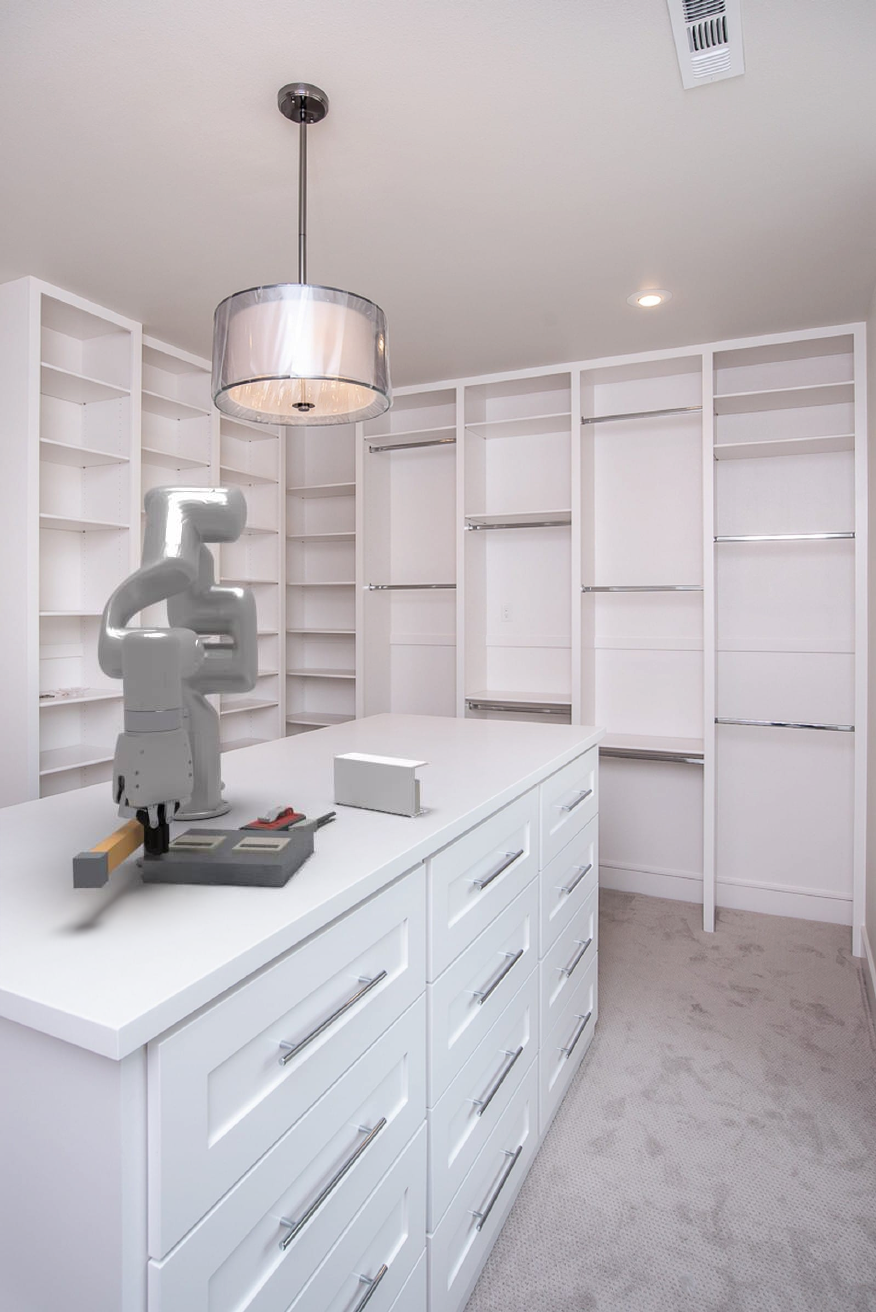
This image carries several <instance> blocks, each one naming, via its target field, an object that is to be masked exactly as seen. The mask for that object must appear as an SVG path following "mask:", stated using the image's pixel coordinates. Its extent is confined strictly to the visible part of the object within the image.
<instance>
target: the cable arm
mask: <svg viewBox="0 0 876 1312" xmlns="http://www.w3.org/2000/svg"><path fill="white" fill-rule="evenodd" d="M143 843H144V826H143V825H141V824H140V823H139V821H137V820H136V819H129V821H128V822H126V823H125V824H124V825H123V826H121V827H119V828H118V829H117V830H116V831H115V832H113V833H112V834H111V835H110V836H108V837H107V838H106V839H105V840H103V841H102V842H100V843H99V844H98V845H97V846H96V847H94V848H92V850H90V851H86V852H85V851H81V852H79V853H78V854H76V856H74V857H73V858H72V882H73V884H72V885H73V887H72V888H73V889H102V888H103V887H104V886H105V885H106V884H107V883H108V882H109V881H110V880H109V879H110V878H109V874H110V873H111V872H113V871H114V870H115V869H116V868H117V867H119V866H120V865H121V864H122V863H123V862H124V861H125V860H126V859H127V858H129V857H130V855H132V854H133V853H134V852H135V851H136V850H137V849H139V848H140V847H141V846H143Z"/></svg>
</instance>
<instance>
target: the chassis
mask: <svg viewBox="0 0 876 1312" xmlns="http://www.w3.org/2000/svg"><path fill="white" fill-rule="evenodd" d="M314 833H315V832H300V831H264V830H239V829H225V828H223V829H222V828H191V827H190V828H189V829H187V830H186V831H185V832H183V833H181V834H180V835H178V836H177V837H175V838H174V839H172V840H170V843H169V852H168V853H165V854H164V853H162V855H159V856H157V855H154V854H151V855H149V856H148V857H146V858H145V859H143V860H142V867H141V882H142V883H165V884H193V885H195V884H196V885H220V886H221V885H222V886H223V885H224V886H250V887H274V888H275V887H277V888H278V887H279V888H282V887H284V885H285V884H286V883H288V881H289V880H290V879H291V878H292V877H293V875H294V874H296V872H297V871H298V870H299V868H300V867H302V865H303V864H304V863H305V862H306V860H308V858H309V857H310V856H311V855H312V854H313V852H314V851H315V838H314V837H315V835H314ZM290 877H291V878H290ZM289 878H290V879H289Z"/></svg>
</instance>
